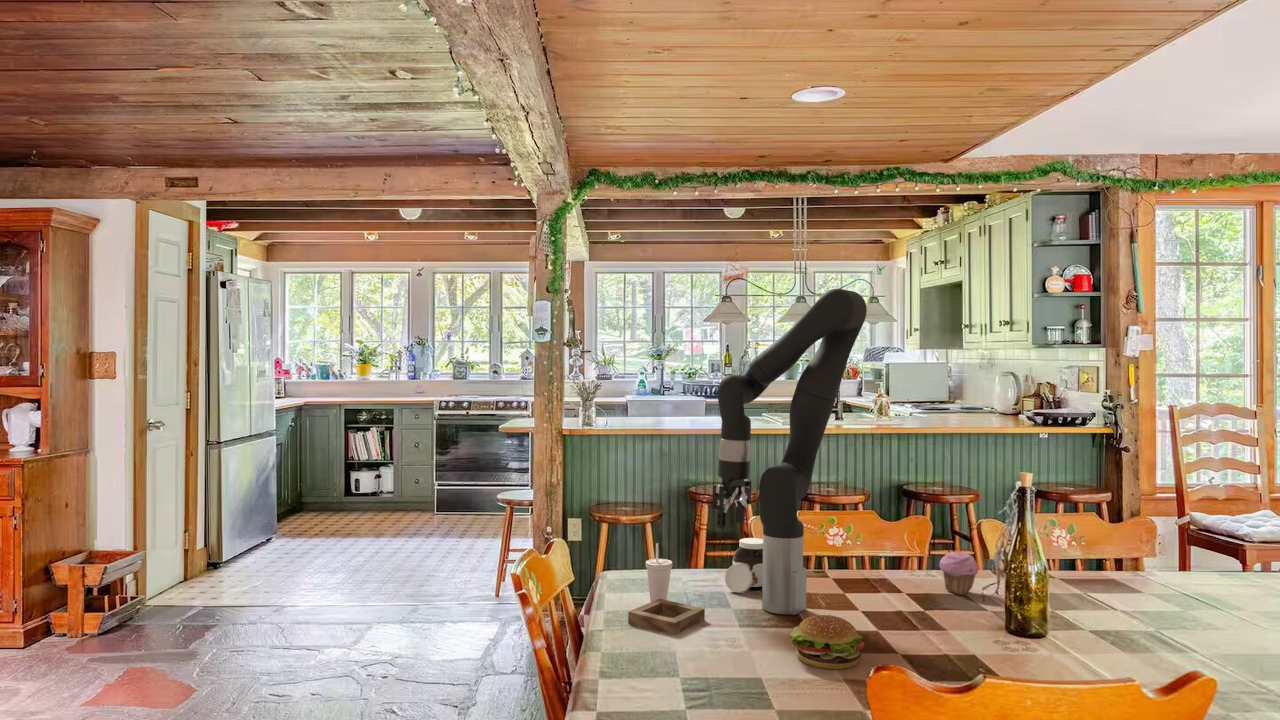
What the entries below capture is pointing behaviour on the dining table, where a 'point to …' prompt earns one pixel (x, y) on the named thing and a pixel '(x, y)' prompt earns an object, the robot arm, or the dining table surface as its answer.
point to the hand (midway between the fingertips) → (730, 525)
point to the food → (827, 642)
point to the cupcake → (958, 572)
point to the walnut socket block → (650, 617)
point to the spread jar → (746, 566)
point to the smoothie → (658, 577)
